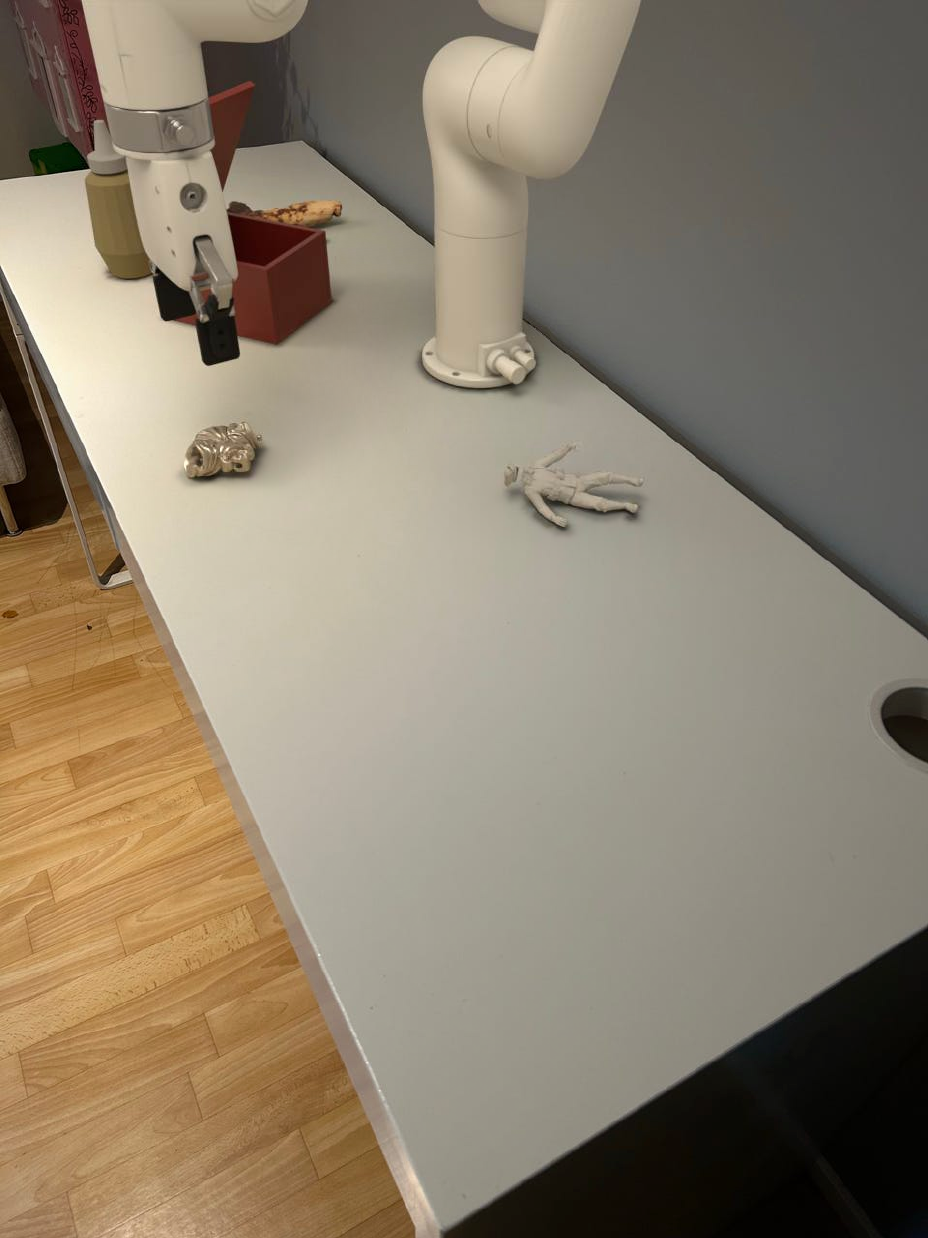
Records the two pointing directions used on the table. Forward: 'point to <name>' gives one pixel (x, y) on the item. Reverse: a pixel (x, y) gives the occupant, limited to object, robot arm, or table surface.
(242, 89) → the lid
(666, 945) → the table surface
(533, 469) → the soldier figure
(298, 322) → the box
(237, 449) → the ornament
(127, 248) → the squeeze bottle
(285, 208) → the lashed bone hook
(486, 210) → the robot arm
